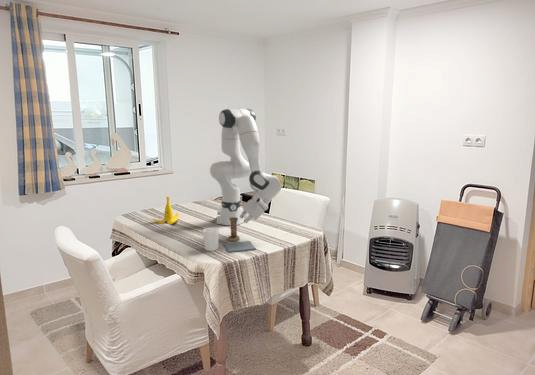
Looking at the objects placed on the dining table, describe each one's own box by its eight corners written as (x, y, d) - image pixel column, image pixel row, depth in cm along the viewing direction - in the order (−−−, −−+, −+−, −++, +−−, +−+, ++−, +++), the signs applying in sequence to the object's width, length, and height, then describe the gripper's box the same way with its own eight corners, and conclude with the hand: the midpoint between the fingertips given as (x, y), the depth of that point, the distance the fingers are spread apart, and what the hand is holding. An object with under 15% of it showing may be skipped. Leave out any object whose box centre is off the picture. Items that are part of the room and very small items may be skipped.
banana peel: (177, 226, 240) (176, 199, 237) (150, 223, 246) (149, 197, 243) (190, 219, 255) (189, 194, 252) (165, 216, 261) (164, 192, 258)
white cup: (207, 245, 205) (207, 227, 203) (221, 247, 203) (221, 228, 201) (201, 250, 198) (200, 231, 196) (215, 252, 195) (214, 232, 193)
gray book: (223, 244, 206) (223, 243, 206) (249, 242, 210) (249, 240, 210) (228, 252, 195) (228, 251, 195) (255, 249, 199) (255, 248, 199)
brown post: (227, 238, 217) (227, 217, 214) (238, 237, 218) (237, 216, 216) (229, 241, 211) (229, 220, 209) (240, 240, 213) (240, 219, 211)
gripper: (250, 193, 224) (234, 211, 223) (261, 201, 205) (243, 221, 203) (258, 201, 226) (241, 218, 225) (269, 209, 207) (251, 228, 206)
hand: (242, 219), depth 214 cm, fingers open, 8 cm apart
